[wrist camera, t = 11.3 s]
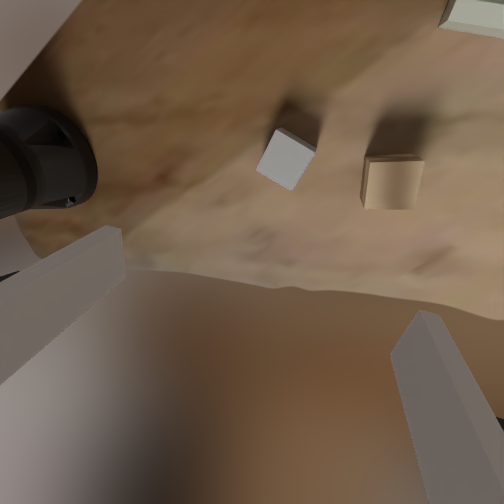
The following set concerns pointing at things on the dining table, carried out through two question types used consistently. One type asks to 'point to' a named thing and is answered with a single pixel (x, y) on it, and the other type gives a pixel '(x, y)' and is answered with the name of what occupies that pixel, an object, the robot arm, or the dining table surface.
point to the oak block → (391, 181)
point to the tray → (475, 17)
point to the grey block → (286, 158)
